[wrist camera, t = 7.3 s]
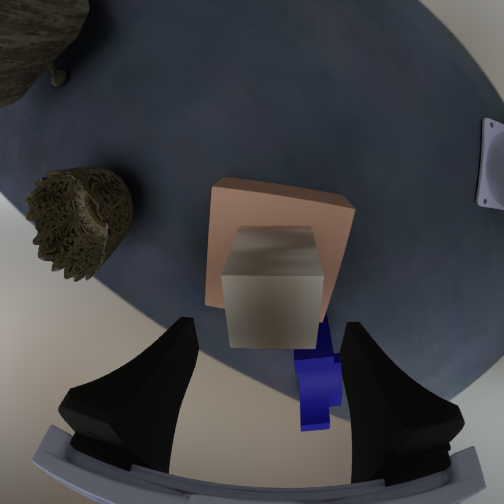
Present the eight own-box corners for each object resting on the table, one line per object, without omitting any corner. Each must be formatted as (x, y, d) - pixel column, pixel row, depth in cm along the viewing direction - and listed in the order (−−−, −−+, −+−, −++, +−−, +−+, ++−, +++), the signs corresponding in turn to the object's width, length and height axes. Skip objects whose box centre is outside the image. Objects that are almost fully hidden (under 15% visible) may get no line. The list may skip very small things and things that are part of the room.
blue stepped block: (338, 385, 29) (343, 427, 24) (300, 389, 30) (301, 431, 24) (341, 306, 24) (353, 353, 19) (292, 312, 25) (294, 360, 19)
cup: (83, 155, 20) (18, 176, 13) (155, 150, 19) (94, 167, 12) (92, 234, 23) (38, 274, 16) (159, 239, 23) (112, 290, 15)
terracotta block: (342, 194, 20) (355, 209, 16) (317, 293, 24) (322, 322, 20) (224, 175, 20) (212, 186, 17) (215, 278, 24) (205, 305, 21)
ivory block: (310, 226, 17) (323, 275, 12) (307, 287, 19) (315, 348, 14) (239, 226, 18) (221, 275, 12) (243, 286, 20) (230, 347, 14)
